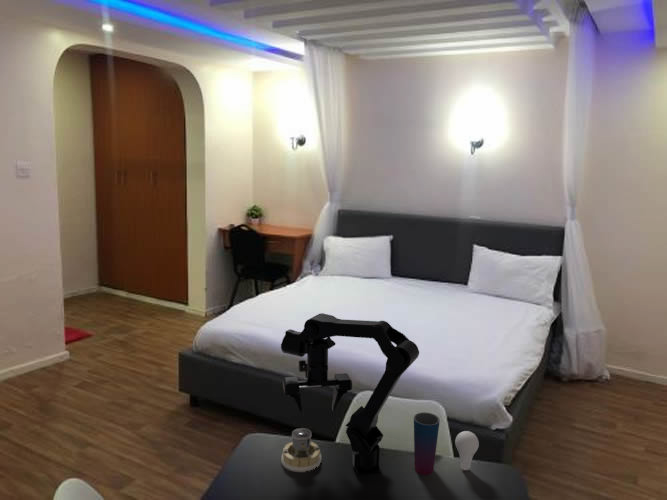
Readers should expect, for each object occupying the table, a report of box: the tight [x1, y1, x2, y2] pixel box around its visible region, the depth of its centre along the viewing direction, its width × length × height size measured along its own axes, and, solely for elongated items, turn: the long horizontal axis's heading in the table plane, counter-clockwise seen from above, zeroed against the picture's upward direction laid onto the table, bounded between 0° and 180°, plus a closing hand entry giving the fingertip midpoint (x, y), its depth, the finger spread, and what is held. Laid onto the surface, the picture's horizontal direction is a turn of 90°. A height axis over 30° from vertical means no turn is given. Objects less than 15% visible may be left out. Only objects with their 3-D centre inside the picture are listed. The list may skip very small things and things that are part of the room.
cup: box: [413, 411, 441, 476], centre depth 149 cm, size 7×7×15 cm
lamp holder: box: [280, 441, 322, 473], centre depth 153 cm, size 11×11×4 cm
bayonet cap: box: [291, 427, 313, 458], centre depth 153 cm, size 6×5×7 cm
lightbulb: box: [454, 430, 480, 471], centre depth 149 cm, size 6×6×11 cm
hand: (317, 412), depth 156 cm, fingers open, 9 cm apart
